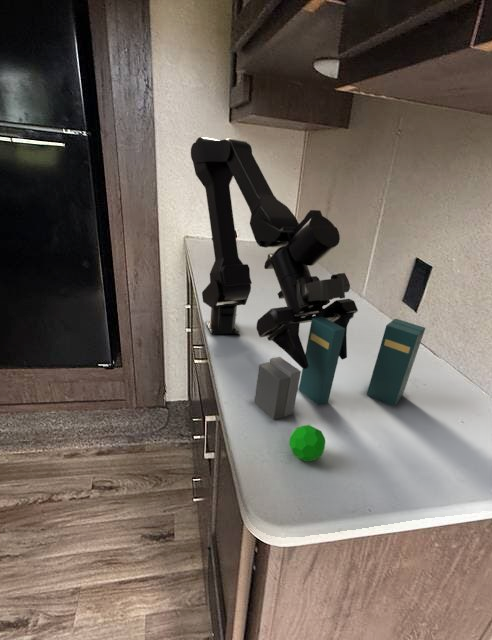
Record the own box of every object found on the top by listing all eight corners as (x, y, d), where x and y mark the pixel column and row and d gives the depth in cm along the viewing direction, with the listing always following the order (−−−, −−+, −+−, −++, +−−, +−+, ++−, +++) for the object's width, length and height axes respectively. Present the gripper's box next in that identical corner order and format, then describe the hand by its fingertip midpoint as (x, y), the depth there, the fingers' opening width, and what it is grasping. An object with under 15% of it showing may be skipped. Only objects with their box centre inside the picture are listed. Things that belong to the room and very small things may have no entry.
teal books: (366, 394, 74) (386, 325, 67) (375, 384, 78) (395, 318, 71) (394, 406, 72) (418, 335, 65) (402, 395, 76) (425, 327, 69)
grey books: (254, 402, 67) (259, 360, 63) (273, 397, 69) (279, 356, 65) (273, 420, 63) (280, 376, 59) (293, 413, 65) (301, 371, 62)
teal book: (298, 389, 72) (311, 318, 66) (308, 386, 74) (322, 316, 67) (318, 405, 69) (334, 330, 62) (328, 401, 70) (345, 328, 63)
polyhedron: (301, 472, 53) (308, 444, 51) (280, 451, 57) (285, 424, 54) (328, 461, 56) (335, 434, 54) (306, 441, 59) (312, 415, 57)
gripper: (276, 256, 57) (313, 357, 55) (362, 253, 68) (396, 337, 66) (241, 292, 66) (272, 380, 64) (322, 284, 77) (351, 359, 75)
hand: (326, 363), depth 67 cm, fingers open, 9 cm apart
